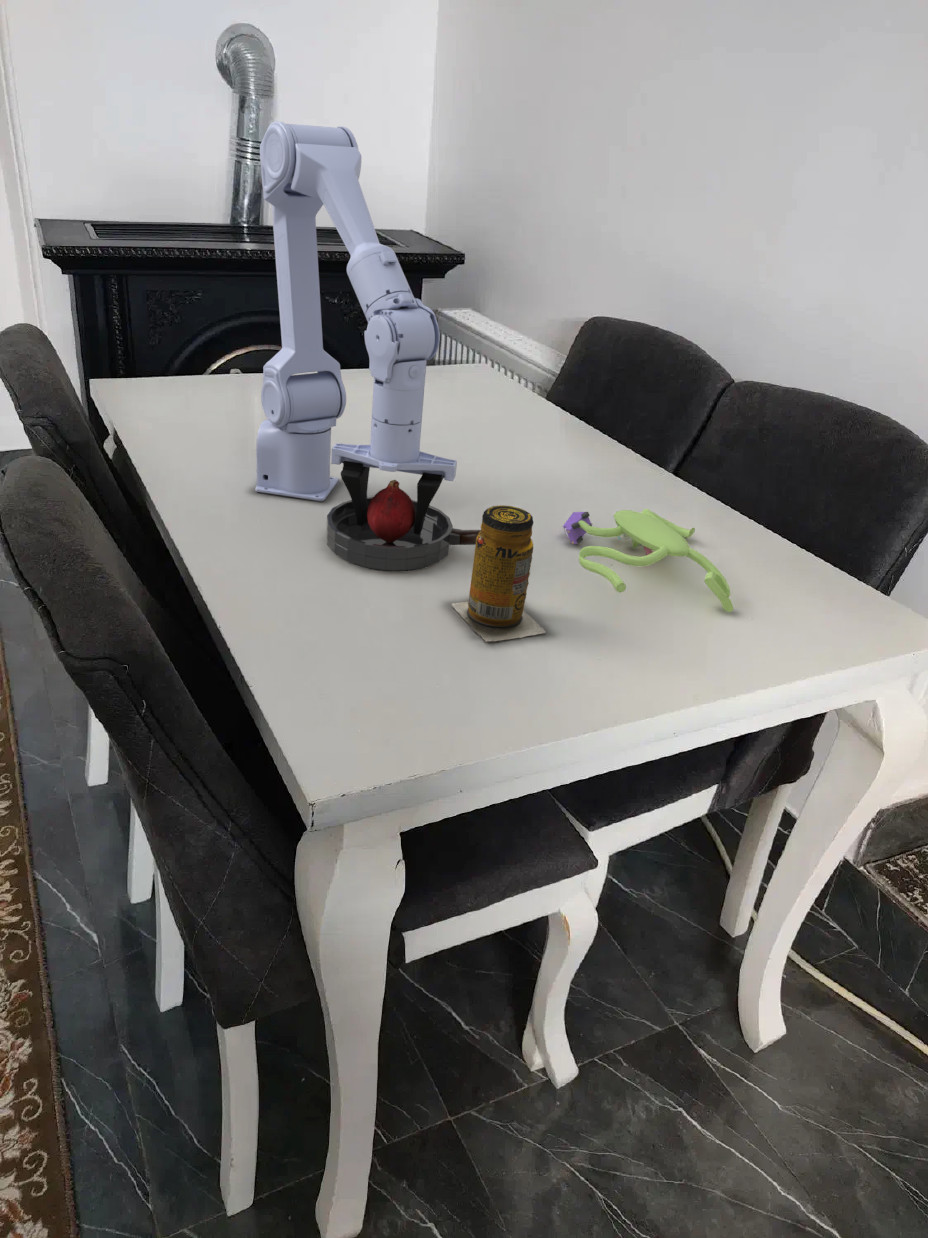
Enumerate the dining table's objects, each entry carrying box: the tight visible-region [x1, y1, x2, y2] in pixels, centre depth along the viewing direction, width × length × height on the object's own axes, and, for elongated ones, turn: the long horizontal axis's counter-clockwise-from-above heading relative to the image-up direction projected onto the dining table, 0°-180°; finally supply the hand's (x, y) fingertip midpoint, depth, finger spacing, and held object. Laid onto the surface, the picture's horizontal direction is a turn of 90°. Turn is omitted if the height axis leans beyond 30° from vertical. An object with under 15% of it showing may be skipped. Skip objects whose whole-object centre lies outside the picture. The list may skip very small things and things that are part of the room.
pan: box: [326, 496, 454, 573], centre depth 112 cm, size 15×15×3 cm
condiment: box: [450, 504, 547, 643], centre depth 96 cm, size 7×8×12 cm
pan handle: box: [449, 527, 481, 546], centre depth 110 cm, size 10×2×3 cm, turn 82°
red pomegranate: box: [367, 479, 415, 543], centre depth 110 cm, size 6×6×8 cm
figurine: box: [562, 508, 734, 613], centre depth 113 cm, size 18×27×6 cm
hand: (389, 526), depth 111 cm, fingers open, 6 cm apart
